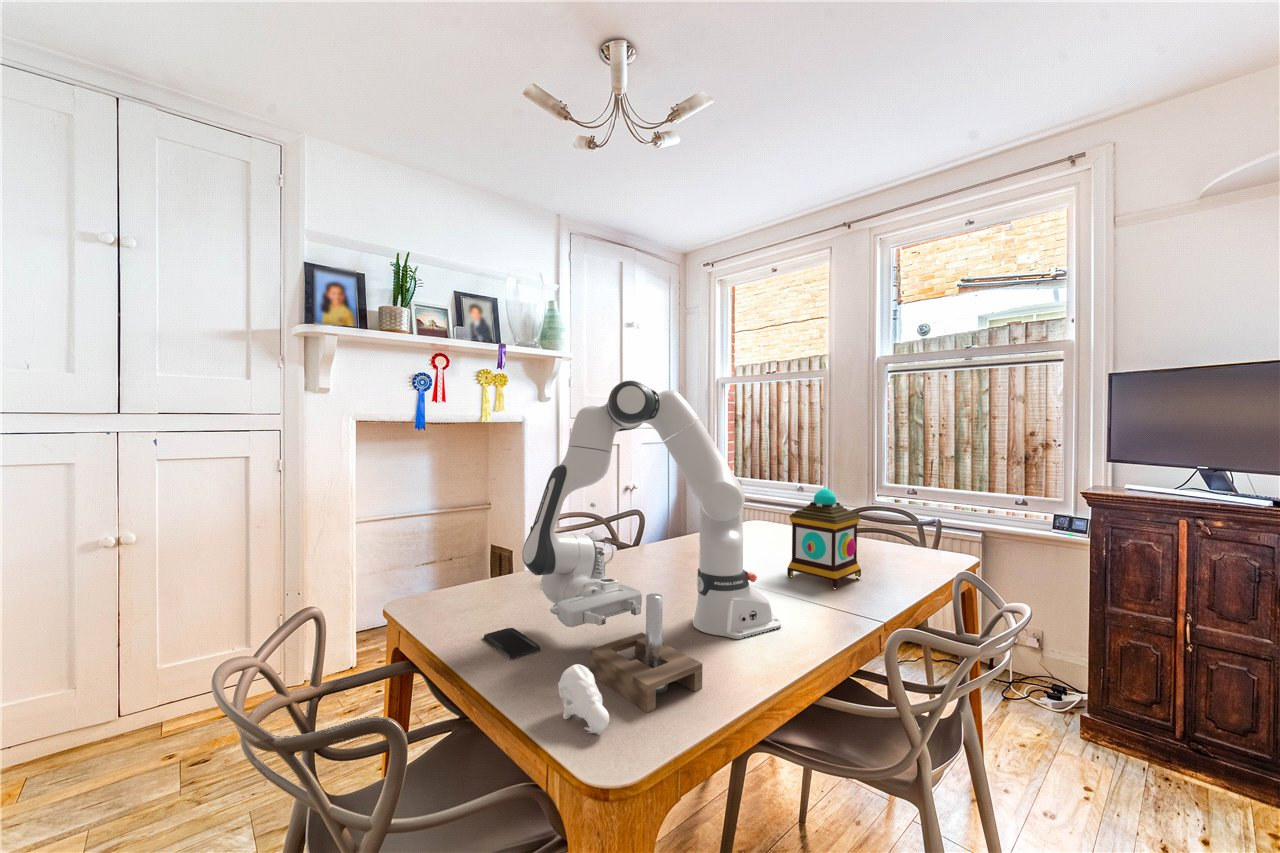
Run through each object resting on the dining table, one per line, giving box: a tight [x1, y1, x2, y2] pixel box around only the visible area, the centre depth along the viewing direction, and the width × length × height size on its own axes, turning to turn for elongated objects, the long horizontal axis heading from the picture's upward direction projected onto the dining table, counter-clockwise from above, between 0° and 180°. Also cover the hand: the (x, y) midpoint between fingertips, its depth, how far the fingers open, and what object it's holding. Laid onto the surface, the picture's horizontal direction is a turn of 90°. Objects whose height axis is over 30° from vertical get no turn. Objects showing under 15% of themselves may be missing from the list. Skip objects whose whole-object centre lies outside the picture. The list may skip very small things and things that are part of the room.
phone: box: [483, 627, 541, 660], centre depth 125 cm, size 8×1×15 cm
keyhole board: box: [588, 632, 703, 713], centre depth 109 cm, size 19×14×5 cm
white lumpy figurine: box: [557, 663, 610, 736], centre depth 94 cm, size 6×8×12 cm
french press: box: [583, 502, 614, 579], centre depth 176 cm, size 10×12×25 cm
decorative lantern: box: [786, 487, 862, 589], centre depth 177 cm, size 20×20×30 cm
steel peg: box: [645, 593, 669, 695], centre depth 106 cm, size 6×6×18 cm
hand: (621, 616), depth 114 cm, fingers open, 8 cm apart
